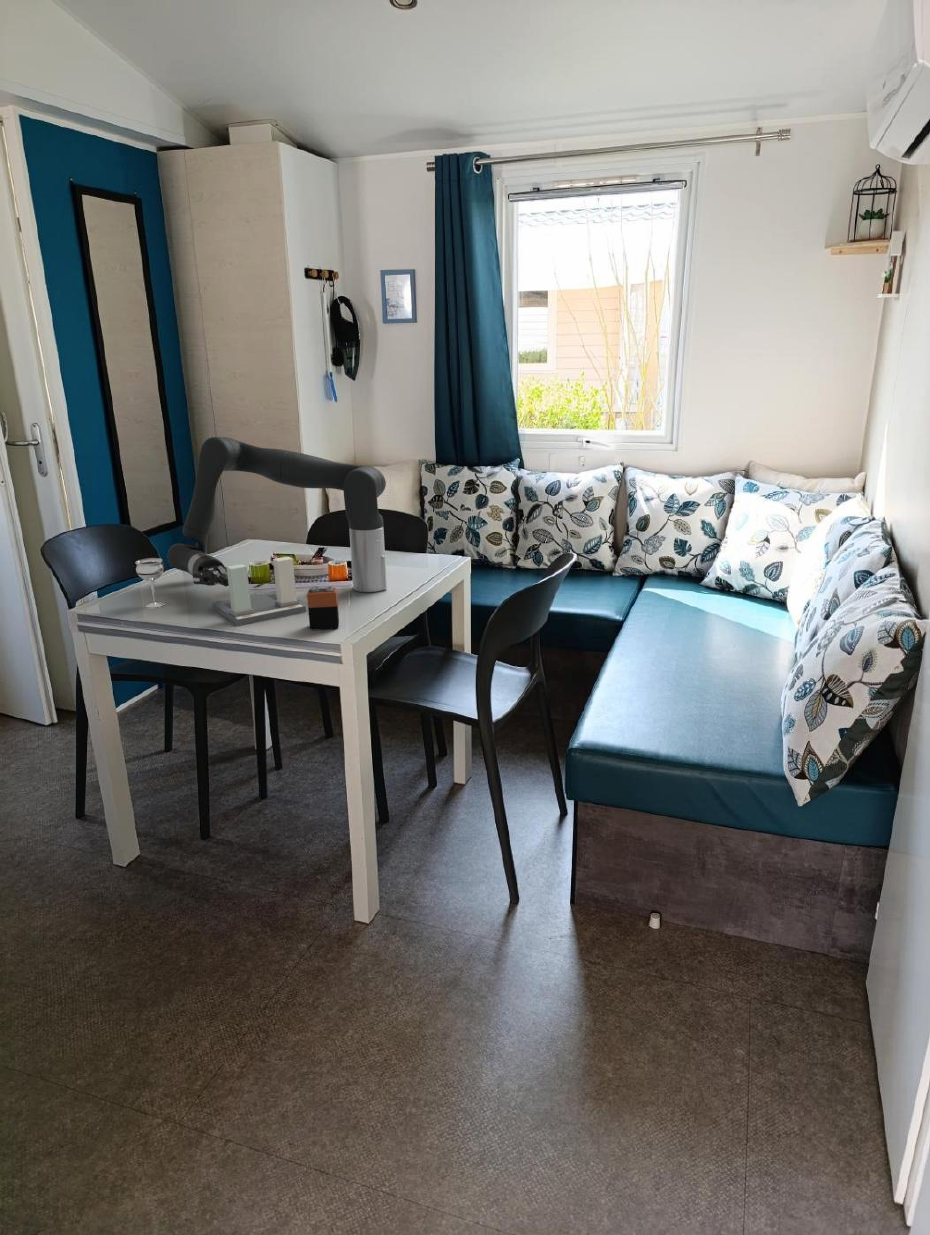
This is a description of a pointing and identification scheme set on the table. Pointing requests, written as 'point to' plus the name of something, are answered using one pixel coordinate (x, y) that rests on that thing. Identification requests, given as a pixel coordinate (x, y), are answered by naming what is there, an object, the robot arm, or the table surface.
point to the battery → (323, 608)
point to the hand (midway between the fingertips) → (228, 582)
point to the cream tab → (285, 582)
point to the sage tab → (239, 590)
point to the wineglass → (150, 573)
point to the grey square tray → (258, 609)
